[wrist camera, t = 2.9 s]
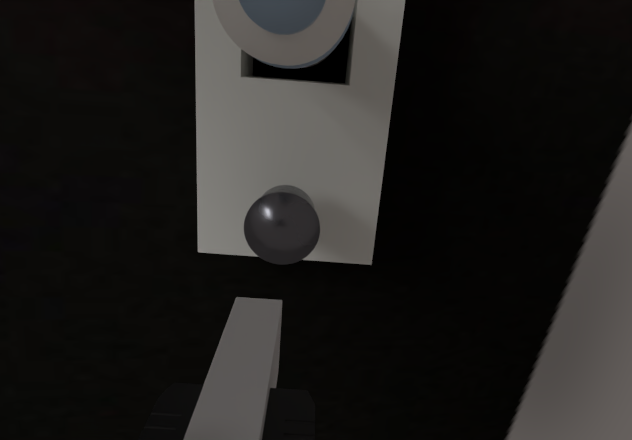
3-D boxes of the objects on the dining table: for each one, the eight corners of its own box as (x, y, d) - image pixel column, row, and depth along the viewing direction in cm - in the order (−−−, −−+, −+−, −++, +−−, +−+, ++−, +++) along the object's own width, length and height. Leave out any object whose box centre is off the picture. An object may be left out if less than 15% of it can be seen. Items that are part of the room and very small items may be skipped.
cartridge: (262, 66, 31) (202, 61, 15) (265, -16, 29) (200, -120, 13) (336, 72, 31) (353, 73, 15) (343, -10, 29) (370, -105, 13)
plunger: (250, 242, 27) (242, 261, 25) (252, 177, 26) (244, 190, 23) (317, 247, 28) (316, 267, 25) (322, 182, 26) (322, 195, 23)
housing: (214, 227, 35) (197, 252, 30) (214, -263, 25) (190, -340, 20) (364, 238, 35) (371, 264, 30) (422, -244, 25) (445, -315, 21)
